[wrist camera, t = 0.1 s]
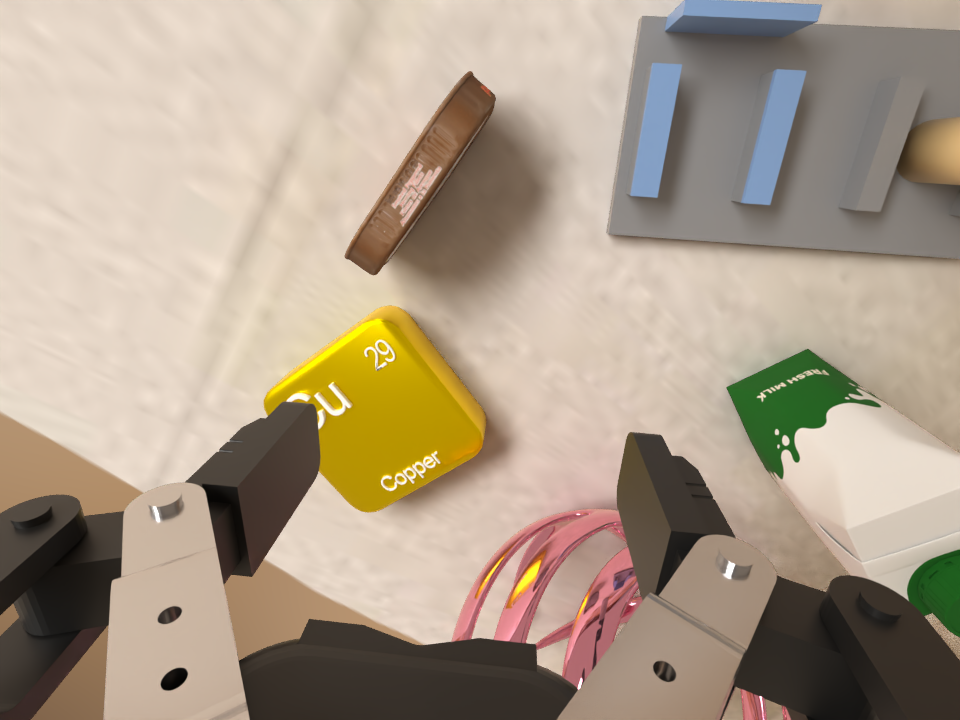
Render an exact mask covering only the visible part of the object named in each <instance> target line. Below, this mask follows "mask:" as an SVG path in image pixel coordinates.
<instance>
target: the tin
mask: <svg viewBox="0 0 960 720" xmlns="http://www.w3.org/2000/svg"><path fill="white" fill-rule="evenodd" d="M495 100H496V97H495V95H494V94H493V93H492V92H491V91H490V90H489V89H488V88H487V87H485V86H484V85H483V84H482V83H481V82H480V81H478V80H477V79H476V78H475V77H474V76H473V73H472V72H471V71H469V72H467V73H466V74H465V75H464V76H463V77H462V78H461V79H460V80H459V81H458V83H457V84H456V85H455V86H454V88H453V89H452V90H451V92H450V93H449V94H448V96H447V97H446V98H445V100H444V101H443V102H442V104H441V105H440V106H439V108H438V110H437V111H436V112H435V114H434V115H433V117H432V118H431V120H430V121H429V123H428V124H427V126H426V127H425V128H424V130H423V132H422V133H421V135H420V136H419V138H418V139H417V141H416V142H415V144H414V145H413V147H412V149H411V150H410V151H409V153H408V154H407V156H406V157H405V159H404V160H403V162H402V164H401V165H400V167H399V168H398V170H397V171H396V173H395V174H394V176H393V177H392V179H391V180H390V182H389V184H388V185H387V187H386V188H385V190H384V191H383V193H382V194H381V196H380V197H379V199H378V200H377V202H376V203H375V205H374V206H373V208H372V209H371V211H370V212H369V214H368V215H367V217H366V218H365V220H364V221H363V223H362V224H361V226H360V228H359V229H358V231H357V233H356V234H355V236H354V238H353V239H352V241H351V243H350V245H349V247H348V249H347V251H346V254H345V258H346V259H349V260H351V261H352V262H354V263H355V264H356V265H358V266H359V267H361V268H362V269H363V270H365V271H366V272H368V273H369V274H371V275H376V274H378V272H379V271H380V270H381V268H382V267H383V265H385V264H386V263H387V262H388V261H389V260H390V259H391V257H392V256H393V255H394V253H395V252H396V250H397V249H398V248H399V246H400V245H401V244H402V242H403V241H404V240H405V238H406V237H407V235H408V234H409V232H410V231H411V230H412V228H413V227H414V225H415V224H416V223H417V221H418V220H419V218H420V217H421V216H422V214H423V213H424V212H425V210H426V209H427V207H428V206H429V205H430V203H431V202H432V200H433V199H434V198H435V196H436V195H437V194H438V192H439V191H440V189H441V188H442V187H443V185H444V184H445V182H446V181H447V179H448V178H449V176H450V175H451V174H452V172H453V171H454V169H455V168H456V166H457V165H458V163H459V162H460V160H461V159H462V157H463V156H464V154H465V153H466V151H467V150H468V148H469V147H470V146H471V144H472V143H473V141H474V140H475V138H476V137H477V135H478V134H479V132H480V131H481V129H482V128H483V126H484V125H485V123H486V122H487V120H488V119H489V117H490V115H491V114H492V112H493V109H494V104H495Z"/></svg>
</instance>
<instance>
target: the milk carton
mask: <svg viewBox="0 0 960 720" xmlns="http://www.w3.org/2000/svg"><path fill="white" fill-rule="evenodd" d="M727 390H728V392H729V394H730V396H731V398H732V401H733V403H734V405H735V407H736V410H737V412H738V414H739V416H740V418H741V421H742V423H743V425H744V427H745V430H746V432H747V434H748V436H749V438H750V441H751V443H752V444H753V446H754V448H755V450H756V452H757V454H758V456H759V458H760V460H761V461H762V463H763V465H764V467H765V468H766V470H767V471H768V472H769V474H770V475H771V476H772V478H773V479H774V480H775V482H776V483H777V484H778V486H779V487H780V488H781V489H782V491H783V492H784V493H785V495H786V496H787V497H788V498H789V500H790V501H791V502H792V504H793V505H794V506H795V507H796V509H797V510H798V511H799V513H800V514H801V515H802V516H803V518H804V519H805V520H806V522H807V523H808V524H809V525H810V527H811V528H812V529H813V531H814V532H815V533H816V534H817V536H818V537H819V538H820V539H821V541H822V542H823V543H824V544H825V546H826V547H827V548H828V549H829V550H830V551H831V553H832V554H833V555H834V556H835V557H836V558H837V560H838V561H839V562H840V563H841V564H842V565H843V567H844V568H845V569H846V570H847V571H848V573H849V574H850V575H851V576H858V577H863V578H866V579H870V580H872V581H875V582H878V583H880V584H882V585H884V586H886V587H888V588H890V589H892V590H893V591H895V592H897V593H898V594H900V595H901V596H903V597H904V598H906V599H907V600H908V601H909V602H911V603H912V604H913V605H914V606H915V607H916V608H917V609H918V610H919V611H920V612H921V613H922V614H923V616H926V615H928V614H931V613H933V614H934V615H935V616H936V617H937V618H938V619H939V620H940V622H941V623H942V624H943V625H944V626H945V627H946V628H947V629H948V630H949V631H950V632H952V633H953V634H954V635H956V636H958V637H960V452H957V451H955V450H954V449H952V448H951V447H949V446H948V445H947V444H945V443H944V442H942V441H941V440H939V439H938V438H936V437H935V436H934V435H932V434H931V433H929V432H928V431H926V430H925V429H923V428H922V427H920V426H919V425H917V424H916V423H914V422H913V421H911V420H910V419H908V418H907V417H905V416H904V415H902V414H901V413H900V412H898V411H897V410H895V409H894V408H892V407H891V406H889V405H888V404H886V403H885V402H883V401H882V400H880V399H879V398H877V397H876V396H874V395H873V394H871V393H870V392H868V391H867V390H865V389H864V388H862V387H861V386H859V385H858V384H857V383H855V382H854V381H852V380H851V379H850V378H848V377H847V376H845V375H844V374H842V373H841V372H840V371H838V370H837V369H835V368H834V367H832V366H831V365H830V364H828V363H827V362H825V361H824V360H822V359H821V358H820V357H818V356H817V355H815V354H814V353H813V352H811V351H810V350H809V349H807V350H804V351H802V352H800V353H798V354H796V355H794V356H792V357H790V358H788V359H785V360H783V361H781V362H779V363H777V364H775V365H773V366H771V367H769V368H766V369H764V370H762V371H760V372H758V373H756V374H754V375H752V376H749V377H747V378H745V379H743V380H741V381H739V382H737V383H735V384H733V385H730V386H728V387H727Z"/></svg>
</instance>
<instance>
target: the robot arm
mask: <svg viewBox="0 0 960 720" xmlns="http://www.w3.org/2000/svg"><path fill="white" fill-rule="evenodd" d="M320 458H321V456H320V443H319V431H318V419H317V411H316V407H315V405H314V404H310V403H299V402H287V401H284V402H282V403H281V404H280V405H279V406H278V407H277V408H276V409H275V410H274V411H273V412H272V413H271V414H270V415H269V416H268V417H267V418H266V419H265V418H260V419H258V420H256V421H254V422H252V423H250V424H248V425H246V426H244V427H242V428H241V429H240V430H239V431H238V432H237V433H236V434H235V435H234V436H233V437H232V438H231V439H230V441H229V442H227V443H226V444H225V445H223V446H222V447H221V448H220V450H219V452H216V453H215V454H214V455H213V456H212V457H211V458H210V459H209V460H208V461H207V462H206V463H205V464H204V465H203V466H202V467H201V468H200V469H198V470H197V471H196V472H195V473H194V474H193V475H192V476H191V477H190V478H189V479H188V480H187V481H186V482H185V483H172V484H167V485H163V486H160V487H157V488H154V489H151V490H149V491H147V492H145V493H143V494H142V495H140V496H138V497H137V498H136V499H134V500H133V501H132V502H131V503H130V504H129V505H128V506H127V508H126V509H125V511H123V512H115V513H106V514H98V515H89V516H84V514H83V511H82V508H81V505H80V502H79V500H78V499H77V498H75V497H72V496H69V495H50V496H44V497H39V498H35V499H32V500H29V501H26V502H23V503H20V504H18V505H16V506H13V507H11V508H9V509H8V510H6V511H4V512H2V513H1V514H0V615H1V614H2V613H3V612H4V611H5V610H6V609H7V608H8V607H10V606H11V605H12V604H14V606H15V608H16V611H17V613H18V615H19V619H17V620H16V621H15V622H14V623H13V624H12V625H11V626H10V627H9V628H8V629H7V630H6V631H5V632H4V633H3V634H2V635H1V636H0V720H31V719H32V718H33V716H34V715H35V714H36V713H37V711H38V710H39V709H40V708H41V706H42V705H43V704H44V703H45V702H46V700H47V699H48V698H49V697H50V695H51V694H52V693H53V692H54V691H55V689H56V688H57V687H58V685H59V684H60V683H61V682H62V681H63V679H64V678H65V677H66V676H67V675H68V673H69V672H70V671H71V670H72V668H73V667H74V666H75V665H76V664H77V662H78V661H79V660H80V659H81V657H82V656H83V655H84V654H85V653H86V651H87V650H88V649H89V647H90V646H91V645H92V644H93V643H94V641H95V640H96V639H97V638H98V637H99V635H100V634H101V633H102V632H103V631H104V629H105V628H106V626H107V625H109V631H108V650H107V669H106V687H105V704H104V720H722V719H723V717H724V714H725V712H726V710H727V707H728V705H729V703H730V700H731V698H732V695H733V693H734V691H735V688H736V687H738V688H740V689H743V690H745V691H748V692H750V693H753V694H755V695H757V696H760V697H762V698H765V699H767V700H770V701H772V702H775V703H777V704H779V705H782V706H784V707H786V709H787V711H788V713H789V716H790V718H791V720H960V660H959V659H958V658H957V657H956V655H955V654H954V653H953V652H952V650H951V649H950V648H949V647H948V645H947V644H946V643H945V642H944V640H943V639H942V638H941V637H940V635H939V634H938V633H937V632H936V630H935V629H934V628H933V627H932V625H931V624H930V623H929V622H928V620H927V619H926V618H925V617H924V616H923V614H922V613H921V612H920V611H919V610H918V609H917V608H916V607H915V606H914V605H913V604H912V603H911V602H909V601H908V600H907V599H906V598H904V597H903V596H901V595H900V594H898V593H897V592H895V591H893V590H892V589H890V588H888V587H886V586H884V585H882V584H880V583H878V582H875V581H872V580H870V579H866V578H863V577H858V576H850V575H846V576H839V577H836V578H834V579H833V580H832V581H831V582H830V585H829V587H828V589H827V592H823V591H820V590H817V589H814V588H811V587H808V586H805V585H802V584H799V583H795V582H792V581H789V580H787V579H784V578H782V577H779V576H777V575H776V571H775V568H774V567H773V565H772V563H771V562H770V561H769V559H768V558H767V557H766V556H765V555H764V554H763V553H761V552H760V551H759V550H758V549H756V548H754V547H753V546H751V545H750V544H748V543H746V542H744V541H741V540H739V539H736V537H735V535H734V534H733V532H732V530H731V528H730V526H729V525H728V523H727V521H726V519H725V517H724V516H723V514H722V512H721V510H720V508H719V507H718V505H717V503H716V501H715V500H714V499H713V496H712V494H711V492H710V491H709V489H708V487H706V483H705V482H704V480H703V478H702V476H701V474H700V473H699V471H698V470H697V469H696V468H695V467H694V466H693V465H692V464H690V463H689V462H688V461H687V460H686V459H684V458H683V457H681V456H672V455H671V453H670V451H669V449H668V447H667V445H666V443H665V441H664V439H663V437H662V436H661V435H657V434H645V433H634V432H630V433H629V434H628V436H627V439H626V444H625V449H624V454H623V459H622V464H621V469H620V474H619V480H618V485H617V506H618V511H619V515H620V519H621V522H622V526H623V530H624V534H625V537H626V541H627V545H628V549H629V552H630V556H631V560H632V563H633V567H634V571H635V575H636V578H637V582H638V586H639V590H640V593H641V597H642V601H643V602H642V603H641V604H640V606H639V607H638V608H637V610H636V611H635V612H634V614H633V615H632V617H631V618H630V619H629V621H628V622H627V623H626V625H625V626H624V628H623V629H622V630H621V632H620V633H619V634H618V636H617V637H616V639H615V640H614V641H613V643H612V644H611V645H610V647H609V648H608V650H607V651H606V652H605V654H604V655H603V656H602V658H601V659H600V661H599V662H598V663H597V665H596V666H595V667H594V669H593V670H592V672H591V673H590V674H589V676H588V677H587V678H586V680H585V681H584V682H583V684H582V685H581V687H580V688H579V689H578V688H577V687H576V686H575V685H573V684H572V683H571V682H569V681H568V680H566V679H565V678H563V677H562V676H560V675H558V674H556V673H554V672H552V671H551V670H549V669H547V668H544V667H541V666H539V665H537V650H536V644H527V643H518V642H509V641H500V640H491V639H482V638H477V639H469V640H461V641H454V642H446V643H438V644H430V645H415V644H412V643H409V642H406V641H403V640H401V639H398V638H396V637H393V636H391V635H388V634H385V633H382V632H380V631H378V630H375V629H372V628H369V627H367V626H365V625H357V624H348V623H339V622H331V621H322V620H313V619H309V621H308V623H307V625H306V627H305V629H304V631H303V633H302V636H301V638H300V639H294V640H290V641H286V642H281V643H278V644H275V645H272V646H269V647H266V648H264V649H261V650H259V651H257V652H255V653H253V654H250V655H248V656H247V657H245V658H243V659H241V660H240V661H239V659H238V654H237V649H236V644H235V639H234V634H233V629H232V624H231V618H230V613H229V608H228V603H227V598H226V593H225V588H224V584H225V583H226V581H227V580H228V578H229V577H230V575H240V576H249V577H252V576H253V575H254V573H255V572H256V570H257V569H258V567H259V565H260V564H261V562H262V561H263V559H264V558H265V556H266V555H267V553H268V552H269V550H270V548H271V547H272V545H273V544H274V542H275V541H276V539H277V538H278V536H279V535H280V533H281V531H282V530H283V528H284V527H285V525H286V524H287V522H288V521H289V519H290V518H291V516H292V514H293V513H294V511H295V510H296V508H297V507H298V505H299V504H300V502H301V501H302V499H303V497H304V496H305V494H306V493H307V491H308V490H309V488H310V487H311V485H312V484H313V482H314V480H315V479H316V477H317V474H318V471H319V467H320Z"/></svg>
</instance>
